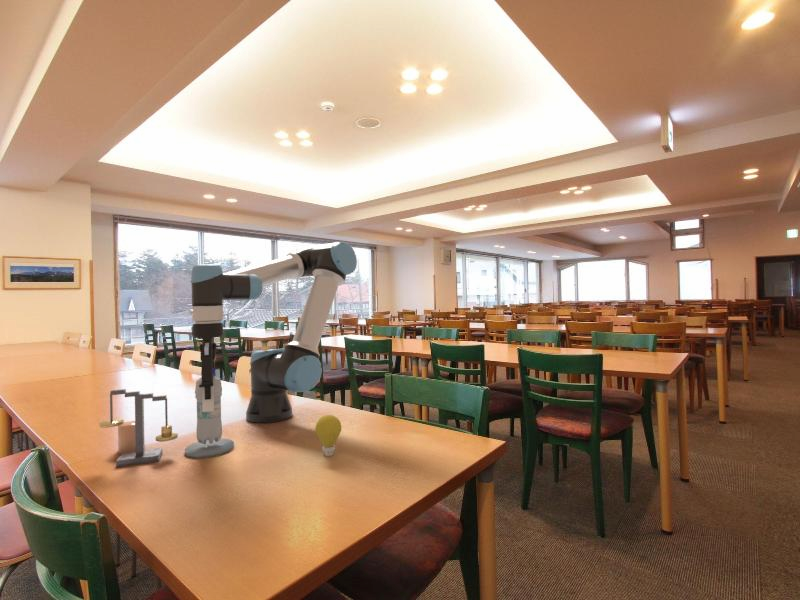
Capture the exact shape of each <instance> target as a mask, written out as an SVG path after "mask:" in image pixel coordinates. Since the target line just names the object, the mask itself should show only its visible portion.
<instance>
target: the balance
mask: <svg viewBox="0 0 800 600" xmlns="http://www.w3.org/2000/svg"><path fill="white" fill-rule="evenodd" d="M117 395H124V398H132V397H134V421H135V437H136V451H132V452H124V453H120V455H119V456H118V457H117V459H116V461H115V467H116V468H119V467H127V466H134V465H136V466H137V465H142V464H149V463H150V464H151V463H157V462H159V461H160V459H161V457H162V455H163V451H164V450H163V447H158V448H149V449H145V403H144V402H145V400H146V399H152V400H151V401H152V402H159V401H164V405H165V406H164V408H165V409H164V411H165V413H164V415H165V425H163V426H161V428H160V429H161V430H160V431H161V433H160V434H159V435H157V436H155V441H156V442H160V443H161V442H169V441H173V440H176V439H178V437H179V433H176V432H173V425H171V424H168V422H169V421H168V397H167V394H165V395H164V394H162V395H154V392H153V393H152V392H151V393H141V391H140V390H137V391H127V389H126V388H125V389H122V388H121V389H111V390H110V392H109V406H110V407H109V410H110V411H109V413H110V415H109V417H110V419H109V420H105V421H102V422H100V423H99V425H98V426H99V427H100V428H114V427H118V426H119V425H121V424H123V423H124V422H125V421H124V420H125V419H121V418H119V419H118V418H115V419H114V417H113V415H114V414H113V411H114V410H113V408H114V407H113V403H114V402H113V396H117Z"/></svg>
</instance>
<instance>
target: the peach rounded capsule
mask: <svg viewBox="0 0 800 600" xmlns="http://www.w3.org/2000/svg"><path fill="white" fill-rule="evenodd" d="M117 450H118V451H117V452H118V453H119V454H122V453H124V452H132V451H136V437H135V420H131V421H124V423H123V424H121V425H119V426H117Z"/></svg>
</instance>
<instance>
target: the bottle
mask: <svg viewBox="0 0 800 600" xmlns="http://www.w3.org/2000/svg"><path fill="white" fill-rule="evenodd" d="M200 373H201V377H199V378H198V379H196V381H195V390H194V395H195V396H194V398H195V399H196V440H197V442H199V443H202V444H206V441H207V440H209V443H210V444H211V443H213V440H214V439H215V442H217V441H219V440H220V439H222V435H223V423H222V399H221V398H222V395H223V387H222V380H221V378H220V377H218V376H214V375H215V374H216V368H215V369H214V368H213V386H214V411H210V412H203V409H202V387H199V385H201V383H202V369H201V370H200ZM208 381H210V380H208Z"/></svg>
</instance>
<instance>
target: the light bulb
mask: <svg viewBox="0 0 800 600" xmlns="http://www.w3.org/2000/svg"><path fill="white" fill-rule="evenodd" d="M314 428H315V429H314V431H315V434H316V435H317V439H318V440H319V441H320V442H321V443H322V444H323V445H322V452H323V454H324V456H326V457H329V456H333V455H334V451H336V445H335V443H337V440H338V438H339V436H340V433H341V432H342V424H341V421H340V419H339V418H338V417H336V416H335V415H333V414H326V415H323V416H321V417H320V418H319V419H318V420H317V422H316V424H315V427H314Z"/></svg>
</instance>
